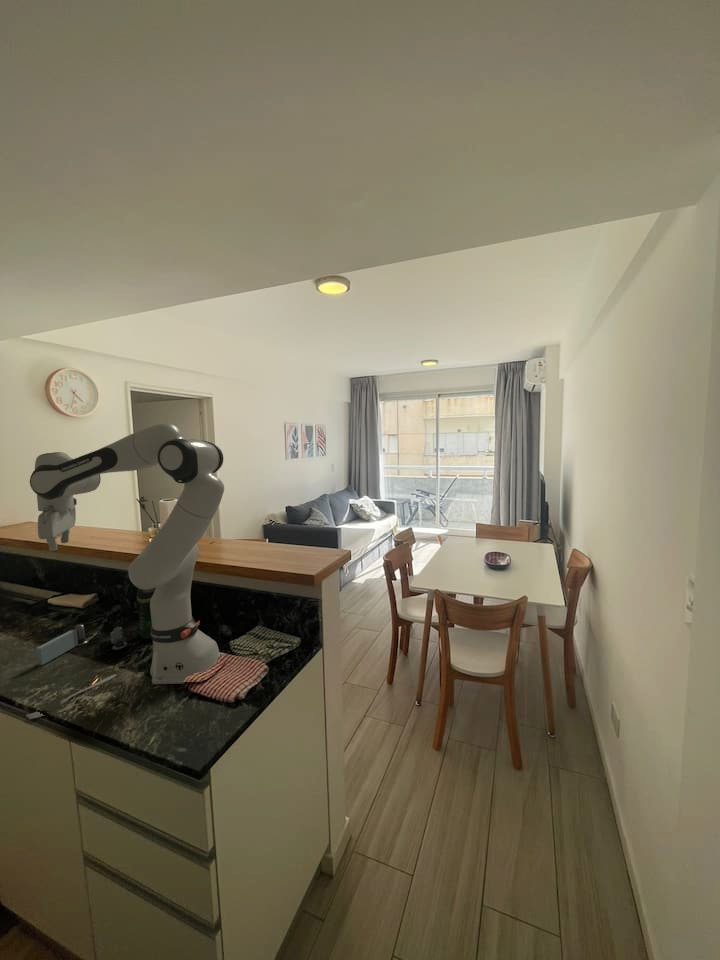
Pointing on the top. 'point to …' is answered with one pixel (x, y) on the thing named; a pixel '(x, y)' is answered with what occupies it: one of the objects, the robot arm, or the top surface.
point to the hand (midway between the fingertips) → (59, 546)
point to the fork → (72, 696)
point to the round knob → (81, 635)
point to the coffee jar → (145, 611)
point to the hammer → (118, 639)
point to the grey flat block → (56, 647)
